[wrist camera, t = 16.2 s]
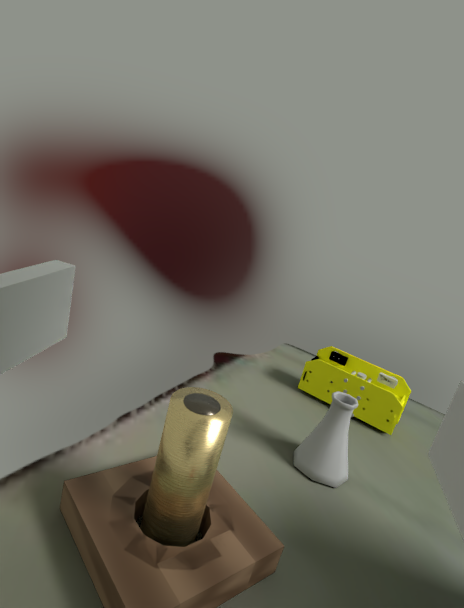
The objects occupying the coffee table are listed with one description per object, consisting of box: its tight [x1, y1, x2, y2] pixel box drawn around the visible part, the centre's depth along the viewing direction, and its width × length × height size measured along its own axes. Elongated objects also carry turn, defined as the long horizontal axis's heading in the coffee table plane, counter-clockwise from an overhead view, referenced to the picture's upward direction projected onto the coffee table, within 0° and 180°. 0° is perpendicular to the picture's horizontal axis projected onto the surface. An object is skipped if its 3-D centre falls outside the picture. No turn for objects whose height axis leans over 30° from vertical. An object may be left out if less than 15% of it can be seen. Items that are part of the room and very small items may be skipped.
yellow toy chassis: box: [298, 346, 411, 435], centre depth 69 cm, size 16×6×8 cm, turn 56°
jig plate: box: [60, 456, 284, 608], centre depth 37 cm, size 14×14×3 cm
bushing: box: [140, 387, 233, 547], centre depth 35 cm, size 5×5×14 cm
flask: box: [294, 391, 358, 488], centre depth 52 cm, size 7×7×10 cm
